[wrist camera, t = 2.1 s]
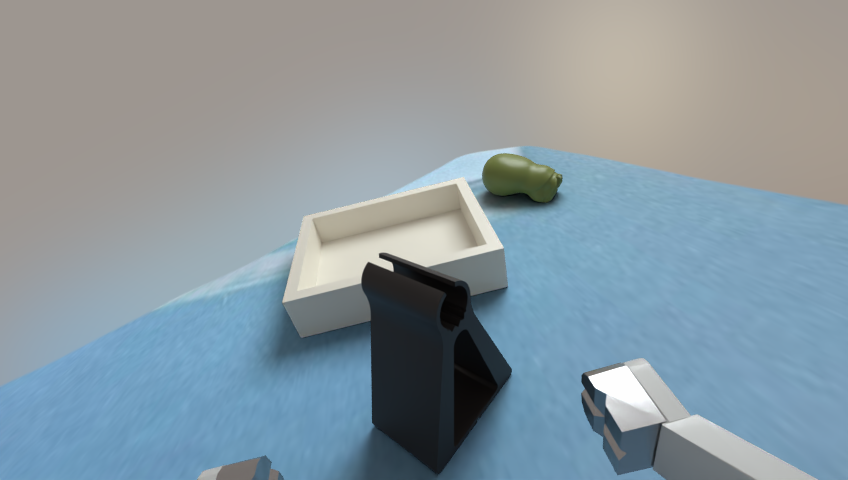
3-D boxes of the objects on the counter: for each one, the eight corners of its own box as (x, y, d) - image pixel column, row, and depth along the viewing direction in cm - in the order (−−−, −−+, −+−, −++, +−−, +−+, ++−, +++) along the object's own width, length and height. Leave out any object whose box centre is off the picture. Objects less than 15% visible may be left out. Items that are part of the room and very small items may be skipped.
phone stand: (449, 341, 33) (420, 220, 27) (512, 373, 30) (496, 241, 23) (373, 425, 28) (315, 302, 22) (437, 477, 25) (390, 345, 18)
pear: (493, 143, 53) (570, 157, 49) (491, 178, 56) (563, 195, 52) (476, 161, 49) (558, 178, 45) (474, 198, 52) (551, 217, 48)
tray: (300, 338, 37) (282, 302, 35) (316, 246, 51) (303, 216, 48) (508, 286, 38) (503, 248, 35) (468, 208, 51) (463, 177, 49)
